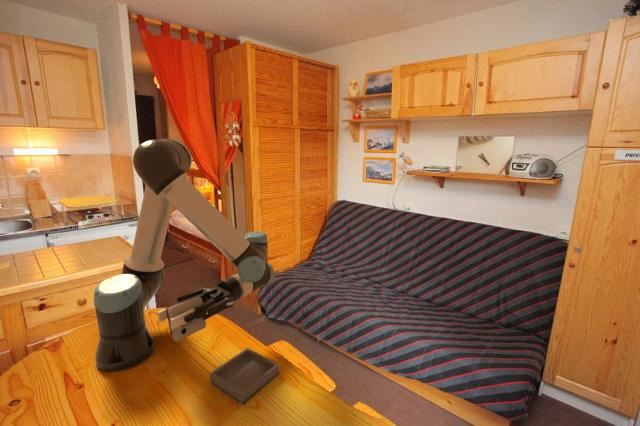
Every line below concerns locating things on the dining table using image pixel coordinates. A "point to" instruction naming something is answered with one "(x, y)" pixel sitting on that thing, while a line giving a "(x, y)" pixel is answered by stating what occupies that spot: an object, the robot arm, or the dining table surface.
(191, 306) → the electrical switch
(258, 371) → the box
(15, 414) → the dining table surface
